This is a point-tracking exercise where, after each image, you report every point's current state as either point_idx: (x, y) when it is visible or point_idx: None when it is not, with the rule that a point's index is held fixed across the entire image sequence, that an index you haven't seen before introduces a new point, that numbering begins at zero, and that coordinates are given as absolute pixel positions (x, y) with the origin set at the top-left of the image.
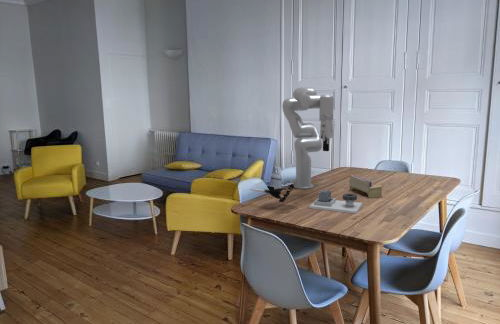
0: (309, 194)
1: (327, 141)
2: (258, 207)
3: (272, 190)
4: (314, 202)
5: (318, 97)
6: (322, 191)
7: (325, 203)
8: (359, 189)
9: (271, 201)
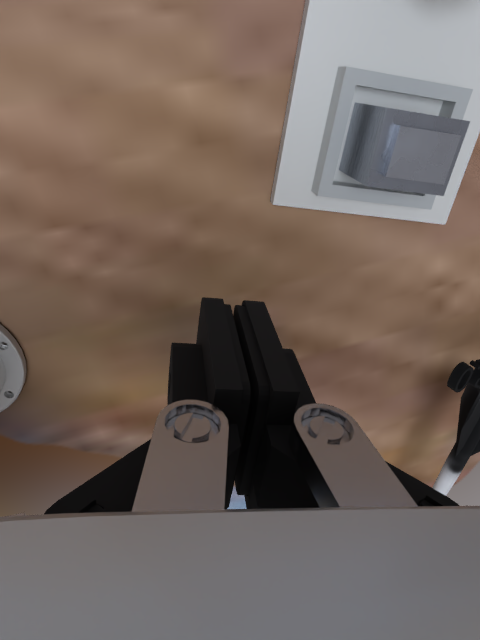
0: (140, 283)
1: (387, 469)
2: (429, 429)
3: (464, 442)
4: (429, 204)
5: None
6: (443, 172)
7: None
8: None
9: None
